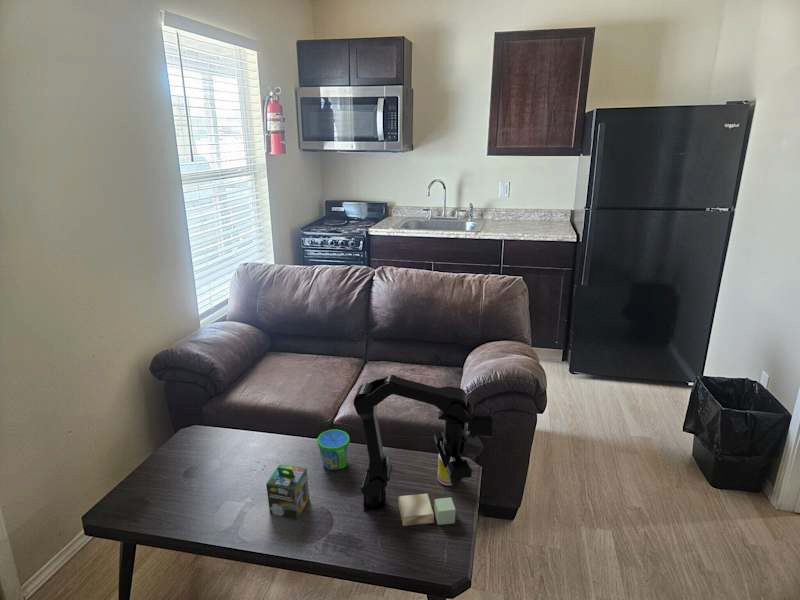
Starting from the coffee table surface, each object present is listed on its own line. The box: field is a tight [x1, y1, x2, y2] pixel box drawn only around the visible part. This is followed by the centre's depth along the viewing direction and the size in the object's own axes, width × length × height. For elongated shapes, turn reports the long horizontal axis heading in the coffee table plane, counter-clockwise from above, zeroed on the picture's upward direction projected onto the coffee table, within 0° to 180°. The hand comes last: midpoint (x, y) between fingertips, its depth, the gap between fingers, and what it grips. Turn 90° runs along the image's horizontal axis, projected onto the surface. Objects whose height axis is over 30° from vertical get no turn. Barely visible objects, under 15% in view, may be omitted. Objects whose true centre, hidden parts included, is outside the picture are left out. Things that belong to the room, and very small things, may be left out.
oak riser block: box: [397, 493, 435, 527], centre depth 152 cm, size 9×9×3 cm
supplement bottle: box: [437, 453, 453, 486], centre depth 164 cm, size 7×7×13 cm
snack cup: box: [316, 428, 351, 471], centre depth 171 cm, size 16×10×10 cm
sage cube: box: [433, 497, 456, 526], centre depth 150 cm, size 5×5×5 cm
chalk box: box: [265, 464, 310, 520], centre depth 152 cm, size 9×9×15 cm
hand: (450, 477), depth 149 cm, fingers open, 9 cm apart
